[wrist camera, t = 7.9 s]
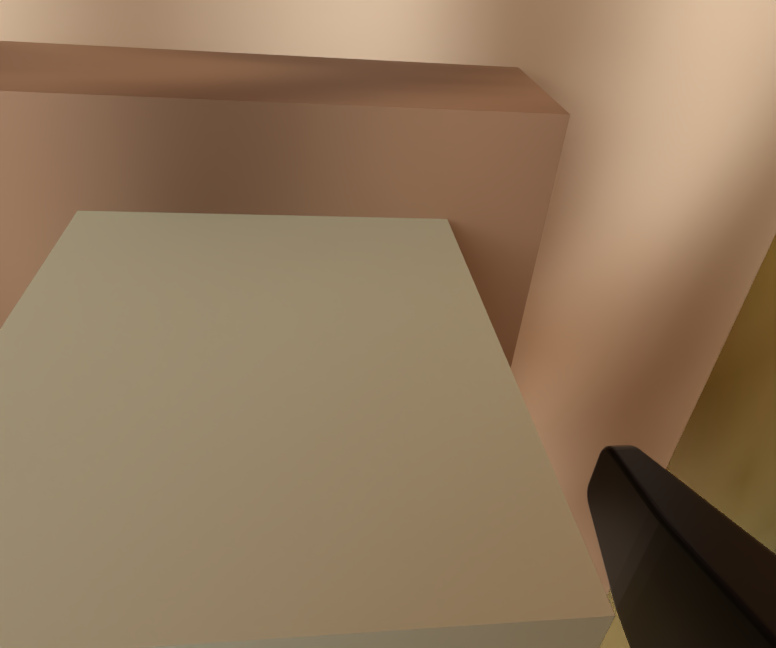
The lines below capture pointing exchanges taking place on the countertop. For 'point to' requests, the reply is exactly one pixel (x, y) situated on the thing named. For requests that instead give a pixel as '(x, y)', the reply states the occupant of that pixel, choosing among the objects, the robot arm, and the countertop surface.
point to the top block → (274, 446)
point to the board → (564, 177)
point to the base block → (277, 150)
